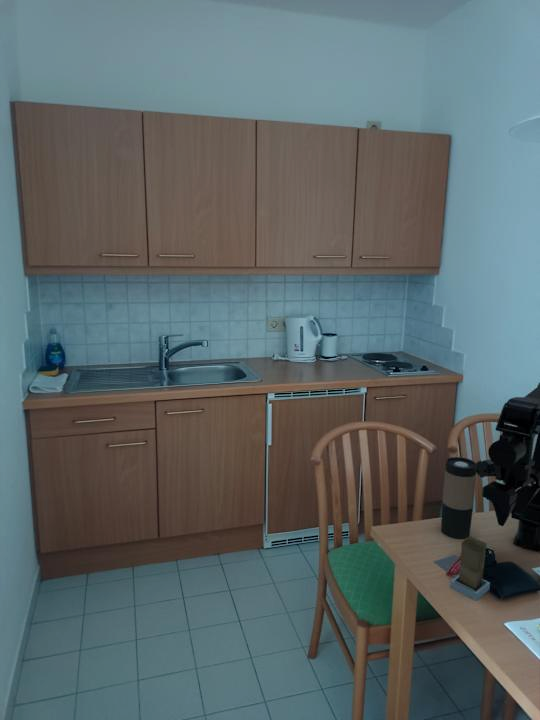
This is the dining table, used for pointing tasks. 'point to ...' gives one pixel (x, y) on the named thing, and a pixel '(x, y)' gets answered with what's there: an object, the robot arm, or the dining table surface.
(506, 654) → the dining table surface
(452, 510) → the travel mug
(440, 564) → the mat
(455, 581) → the socket block
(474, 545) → the olive tall block
